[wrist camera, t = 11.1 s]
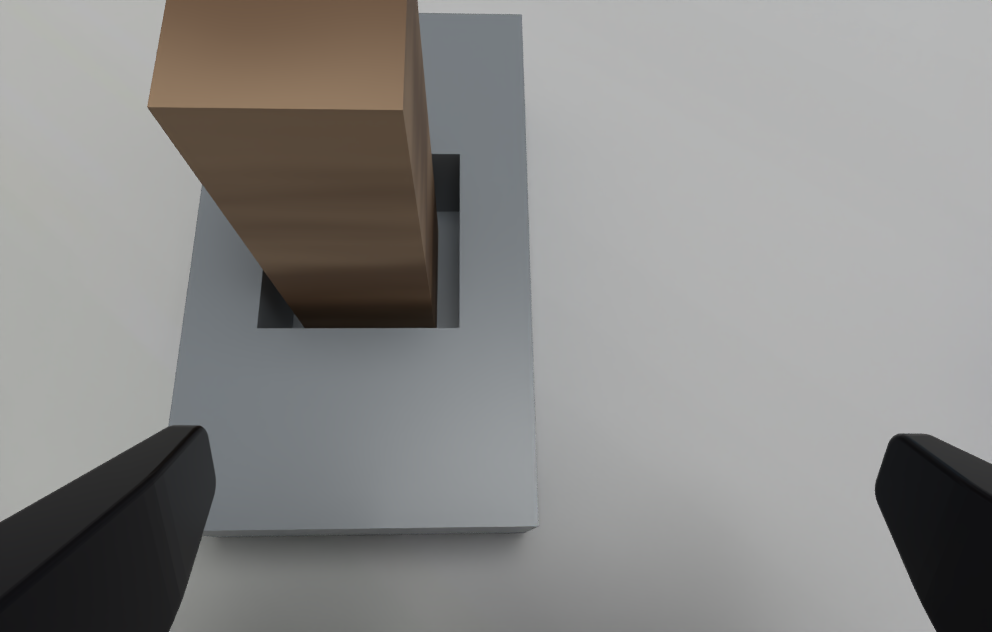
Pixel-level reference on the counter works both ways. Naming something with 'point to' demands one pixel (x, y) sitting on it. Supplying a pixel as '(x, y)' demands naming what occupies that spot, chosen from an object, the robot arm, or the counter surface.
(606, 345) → the counter surface
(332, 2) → the walnut peg
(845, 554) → the counter surface
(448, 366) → the grey socket block
